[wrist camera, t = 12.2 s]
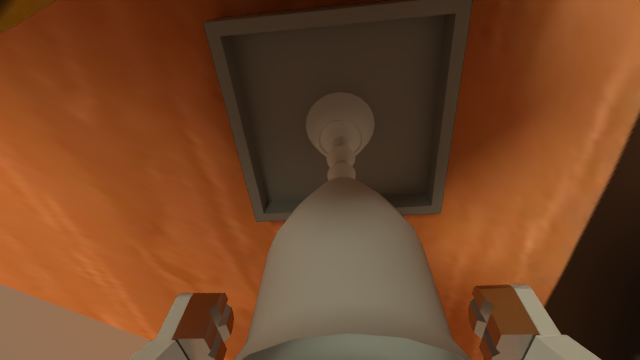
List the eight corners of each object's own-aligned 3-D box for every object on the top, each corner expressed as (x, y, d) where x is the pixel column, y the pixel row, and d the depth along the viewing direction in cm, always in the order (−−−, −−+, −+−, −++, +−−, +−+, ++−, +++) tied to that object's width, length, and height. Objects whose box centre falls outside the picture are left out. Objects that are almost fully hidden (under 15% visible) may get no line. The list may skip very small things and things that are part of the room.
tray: (216, 17, 20) (202, 22, 18) (458, -8, 19) (473, -6, 17) (262, 203, 28) (256, 221, 26) (432, 194, 27) (440, 213, 25)
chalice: (305, 64, 21) (224, 304, 5) (402, 90, 21) (567, 368, 6) (285, 157, 24) (206, 446, 9) (367, 177, 25) (416, 475, 10)
